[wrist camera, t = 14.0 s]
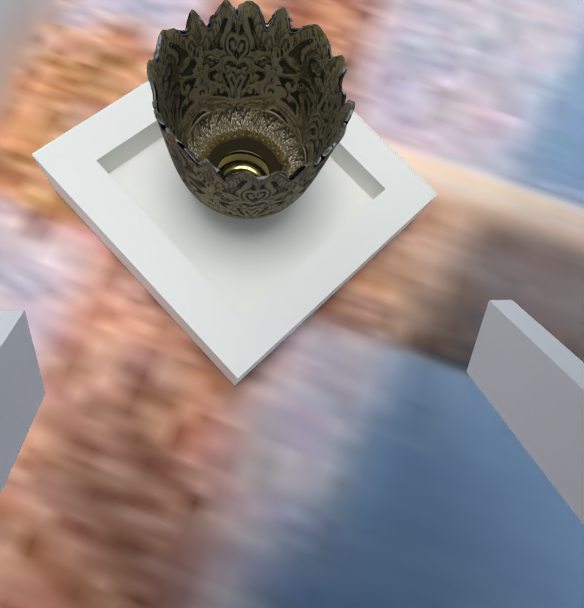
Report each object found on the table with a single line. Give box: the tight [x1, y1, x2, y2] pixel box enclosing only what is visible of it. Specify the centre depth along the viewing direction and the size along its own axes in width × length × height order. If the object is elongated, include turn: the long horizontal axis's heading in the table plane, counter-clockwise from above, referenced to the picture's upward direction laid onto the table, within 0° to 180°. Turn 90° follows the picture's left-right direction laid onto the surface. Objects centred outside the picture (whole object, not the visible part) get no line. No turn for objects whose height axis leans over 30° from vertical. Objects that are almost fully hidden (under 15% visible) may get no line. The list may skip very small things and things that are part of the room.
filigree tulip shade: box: [147, 0, 355, 219], centre depth 20 cm, size 8×7×8 cm
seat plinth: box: [32, 25, 437, 386], centre depth 24 cm, size 14×14×4 cm
